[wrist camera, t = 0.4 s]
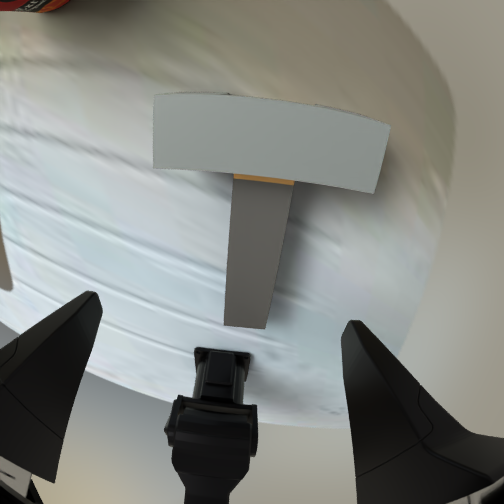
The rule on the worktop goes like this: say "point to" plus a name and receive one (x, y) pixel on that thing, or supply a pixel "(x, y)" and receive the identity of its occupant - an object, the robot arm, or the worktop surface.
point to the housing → (268, 139)
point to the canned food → (31, 5)
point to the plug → (254, 247)
